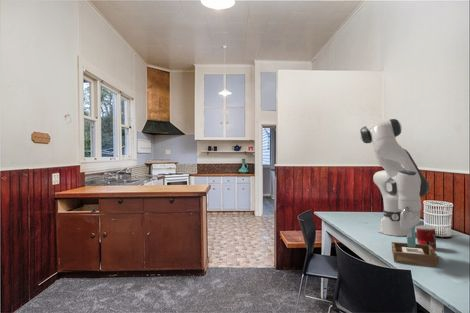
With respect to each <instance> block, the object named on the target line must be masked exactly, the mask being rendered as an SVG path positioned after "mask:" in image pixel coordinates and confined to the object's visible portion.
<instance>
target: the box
mask: <svg viewBox="0 0 470 313" xmlns="http://www.w3.org/2000/svg"><path fill="white" fill-rule="evenodd" d="M402 247H408V248H419V249H422V250H423V252H424V254H416V253H406V252H402ZM391 253H392V259H393V261H394V263H399V264H408V265H409V264H410V265H418V266H425V267H427V266H428V267H435V268H439V256H438V254H437V253H436V250H433V248H432V247H431V245H423V244H417V243H416V247H409V246H407V242H397V241H391Z"/></svg>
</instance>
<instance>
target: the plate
mask: <svg viewBox="0 0 470 313" xmlns="http://www.w3.org/2000/svg"><path fill="white" fill-rule="evenodd" d="M402 252H406V253H416V254H424V252H423V250H422V249H419V248H408V247H402Z"/></svg>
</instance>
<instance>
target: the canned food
mask: <svg viewBox="0 0 470 313" xmlns="http://www.w3.org/2000/svg"><path fill="white" fill-rule="evenodd" d="M415 229H416V239H417V240H416V241H417V242H416V244H423V245H431V247H432V248H433V250H434V251H437V238H436V237H437V234H436V227H434V226H431V225H425V224H424V225H422V224H421V225H416V227H415Z"/></svg>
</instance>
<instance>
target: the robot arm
mask: <svg viewBox="0 0 470 313" xmlns="http://www.w3.org/2000/svg"><path fill="white" fill-rule="evenodd" d="M402 128H403V127H402V124H401V122H400V121H399V120H398V119H396V118H390V119H387V120H382V121H378V122H375V123H373V124H369V125H367V126H363V127H361V128H360V130H359V138H360V141H362V142H363V143H364V144H371V143H372V147H373V153H374V155H375V159H376V162H377V164H378V165H379V166H380V167H382V168H383V169H384V170H379V171H376V172H375V173H374V174H373V176H372V177H373V178H372V179H373V180H372V181H373V182H374V184H375V185H376V186H377V187H378V189H379V191H380V193H381V196H382V199H383V200H382V202H383V211H382V213H383V217H382V218H381V219H380V228H379V229H378V231H377V232H378V233H381V234H385V235H388V236H395V237H407V236H408V237H412V236H413V234H412V228H413V227H414V226H415V228H416V227H417V225H418V224H419V223H420V221H421V211H422V208H423V206H422V203H421V202H422V199H421V198H422V197H424V196H425V195H427V193H428V192H429V190H430V184H429V181H428V180H427V178H426V177H425V176H424V175H423V174H422V172H421V170H420V169H419V167H418V166H417V164H416V162H415V160H414V158H413V157H412V155H411V154H410V152H409V151H408V150H407V149H406V148H403V147H402V145H400V144H399V142H397V139H396V138H397V137H398V136H400V135H401V134H402V130H403V129H402Z"/></svg>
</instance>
